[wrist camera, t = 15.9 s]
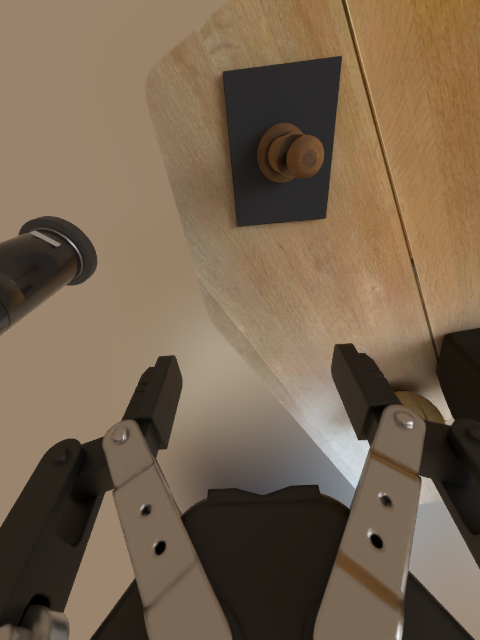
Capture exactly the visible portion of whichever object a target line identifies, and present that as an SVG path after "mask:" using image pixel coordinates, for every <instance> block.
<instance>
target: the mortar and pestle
mask: <svg viewBox="0 0 480 640" xmlns="http://www.w3.org/2000/svg"><path fill="white" fill-rule="evenodd" d="M323 160H324V148H323V145H322V143H321V142H320V141H319V139H317V138H316V137H314V136H311V135H305V134H303V133H302V132H301V130H300V129H299V128H297V127H296V126H295V125H293V124H290V123H279V124H276V125H274V126H272V127H270V128H269V129H268V130H267V131H266V132H265V133H264V134H263V136H262V137H261V139H260V142H259V145H258V149H257V161H258V165H259V168H260V170H261V171H262V173H263V174H264V175H265V176H266V177H267V178H268V179H270V180H272V181H274V182H278V183H283V182H288V181H290V180H292V179H294V178H295V177H297V178H300V179H306V178H309V177H312V176H313V175H315V174H316V173H317V172H318V170H319V169H320V167H321V166H322V163H323Z"/></svg>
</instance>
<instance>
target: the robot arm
mask: <svg viewBox="0 0 480 640" xmlns="http://www.w3.org/2000/svg"><path fill="white" fill-rule="evenodd" d="M83 270H84V257H83V254H82V252H81V250H80V249H79V247H78V246H77V244H76V243H75V242H74V241H73V240H72V239H71V238H70V237H68V236H67V235H66V234H64V233H62V232H61V231H58V230H56V229H53V228H49V227H39V228H36V229H33V230H31V231H29V232H28V233H25V234H22V235H19V236H17V237H14V238H12V239H9V240H7V241H4V242H1V243H0V336H1V335H2V334H3V333H4V332H6V331H7V330H8V329H10V328H11V327H12V326H13V325H15V324H16V323H17V322H19V321H20V320H21V319H22V318H24V317H25V316H26V315H27V314H29V313H30V312H32V311H33V310H34V309H35V308H37V307H38V306H39V305H41V304H42V303H43V302H45V301H46V300H47V299H48V298H50V297H51V296H52V295H53V294H55V293H56V292H58V291H59V290H60V289H61V288H62V287H64V286H65V285H67V284H68V283H69V282H71V281H72V280H74V279H75V278H77V277H78V276H79V275H80V274H81V273H82V272H83ZM331 373H332V378H333V381H334V383H335V385H336V388H337V390H338V393H339V395H340V397H341V400H342V402H343V405H344V407H345V409H346V412H347V414H348V417H349V419H350V421H351V424H352V426H353V429H354V431H355V433H356V436H357V438H358V440H368V442H369V445H370V449H369V452H368V455H367V458H366V461H365V464H364V467H363V470H362V473H361V476H360V479H359V482H358V485H357V488H356V491H355V494H354V497H353V500H352V503H351V505H350V508H348V507H347V506H345V505H344V504H342V503H341V502H339V501H338V500H336V499H334V498H332V497H330V496H327V495H324V494H321V493H320V491H319V487H318V485H300V486H299V485H298V486H289V487H286V488H283V489H281V490H277V491H275V492H272V493H269V494H266V495H259V494H255V493H251V492H247V491H244V490H240V489H236V488H229V489H209V490H208V497H207V498H206V499H203V500H201V501H200V502H197V503H196V504H194V505H193V506H191V507H190V508H189V509H188V510H187V511H186V512H185V513H184V514H182V512H181V510H180V507H179V505H178V504H177V502H176V499H175V498H174V495H173V493H172V491H171V489H170V487H169V485H168V483H167V481H166V479H165V476H164V474H163V472H162V470H161V468H160V466H159V464H158V462H157V459H156V457H157V453H158V450H161V449H167V447H168V442H169V438H170V434H171V430H172V426H173V422H174V418H175V414H176V410H177V406H178V402H179V398H180V394H181V390H182V375H181V372H180V369H179V366H178V362H177V359H176V357H175V356H174V355H171V356H159V357H158V359H157V362H156V364H155V367H149V368H148V369H147V370H146V371H145V372H144V373H143V374H142V376H141V378H140V381H139V382H138V386H137V387H136V389H135V393H134V394H133V396H132V398H131V400H130V403H129V405H128V407H127V409H126V412H125V414H124V416H123V418H122V420H121V422H118V423H116V424H115V425H114V426H112V427H111V428H110V429H109V430H108V431H107V433H106V434H105V436H104V437H101V438H99V439H96V440H93V441H90V442H87V443H84V444H80V442H79V441H78V440H76V439H66V440H63V441H61V442H59V443H57V444H55V445H54V446H53V447H51V448H50V449H49V450H48V451H47V452H46V454H44V456H43V457H42V459H41V461H40V462H39V464H38V466H37V467H36V469H35V471H34V473H33V474H32V476H31V477H30V479H29V481H28V483H27V484H26V486H25V487H24V489H23V491H22V492H21V494H20V496H19V498H18V499H17V501H16V502H15V504H14V506H13V507H12V509H11V511H10V512H9V514H8V516H7V518H6V519H5V521H4V522H3V524H2V526H1V527H0V640H68V638H69V622H68V619H67V617H66V616H65V614H63V612H64V609H65V606H66V604H67V601H68V598H69V595H70V592H71V589H72V586H73V583H74V581H75V578H76V574H77V572H78V569H79V566H80V563H81V561H82V558H83V555H84V552H85V549H86V546H87V543H88V540H89V538H90V535H91V532H92V529H93V526H94V523H95V520H96V517H97V514H98V511H99V509H100V506H101V503H102V500H103V497H104V494H105V492H107V491H109V490H112V489H114V488H115V489H114V490H113V498H114V502H115V506H116V509H117V513H118V516H119V520H120V524H121V527H122V531H123V534H124V538H125V542H126V545H127V549H128V552H129V556H130V559H131V563H132V567H133V570H134V574H135V577H136V578H135V579H134V580H133V582H132V583H131V584H130V586H129V587H128V588H127V590H126V591H125V593H124V594H123V595H122V597H121V598H120V599H119V601H118V602H117V603H116V605H115V606H114V608H113V609H112V610H111V612H110V613H109V614H108V616H107V617H106V618H105V620H104V621H103V623H102V624H101V625H100V627H99V628H98V629H97V631H96V632H95V633H94V635H93V636H92V637H91V639H90V640H475V639H474V638H473V637H472V636H471V635H470V634H469V633H468V632H467V631H466V630H465V629H464V628H463V627H462V626H461V624H460V623H459V622H458V621H457V620H455V618H454V617H453V616H452V615H451V614H450V613H449V612H448V611H447V610H446V609H445V608H444V607H443V606H442V605H441V604H440V603H439V602H438V600H436V598H435V597H434V596H433V595H432V594H431V593H430V592H429V591H428V590H427V589H426V588H425V587H424V586H423V585H422V584H421V583H420V582H419V581H418V579H417V578H416V577H415V576H414V575H413V574H412V573H411V572H410V571H409V570H408V569H409V563H410V555H411V549H412V543H413V536H414V530H415V523H416V517H417V510H418V503H419V497H420V490H421V477H419V475H420V476H423V477H427V478H431V479H432V481H433V483H434V484H435V486H436V488H437V490H438V492H439V494H440V496H441V497H442V499H443V501H444V503H445V505H446V507H447V509H448V511H449V512H450V514H451V516H452V518H453V520H454V522H455V524H456V525H457V527H458V529H459V531H460V533H461V535H462V537H463V539H464V540H465V542H466V544H467V546H468V548H469V550H470V552H471V554H472V555H473V557H474V559H475V561H476V563H477V565H478V567H479V569H480V422H478V421H475V420H472V419H467V418H460V419H457V420H455V421H454V422H453V423H452V425H446V424H441V423H437V422H432V421H428V420H424V419H422V417H421V416H420V415H419V414H418V413H417V412H415V411H414V410H412V409H410V408H408V407H406V406H403V404H402V403H401V401H400V400H399V398H398V397H397V395H396V394H395V392H394V391H393V389H392V387H391V386H390V384H389V383H388V381H387V380H386V378H384V375H383V374H382V372H381V371H380V370H379V368H378V366H377V365H376V363H375V361H374V360H373V359H371V358H370V357H369V356H368V355H366V354H365V353H358V352H357V350H356V348H355V347H354V345H353V344H352V343H349V344H336V345H335V347H334V353H333V359H332V365H331Z"/></svg>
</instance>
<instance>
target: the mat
mask: <svg viewBox="0 0 480 640" xmlns="http://www.w3.org/2000/svg"><path fill="white" fill-rule="evenodd" d="M341 61H342V56H338V57H330V58H323V59H315V60H308V61H300V62H293V63H285V64H277V65H270V66H262V67H255V68H247V69H239V70H232V71H224V72H223V79H224V89H225V100H226V110H227V121H228V132H229V142H230V153H231V164H232V174H233V185H234V195H235V206H236V217H237V226H249V225H260V224H271V223H282V222H292V221H303V220H314V219H325V218H326V211H327V201H328V191H329V181H330V171H331V161H332V151H333V141H334V131H335V121H336V111H337V101H338V91H339V81H340V71H341ZM279 123H290V124H293V125H295V126H296V127H297V128H299V129H300V130H301V132H302V133H303V134H305V135H311V136H314V137H316V138H317V139H319V141H320V142H321V143H322V145H323V148H324V160H323V163H322V166H321V167H320V169H319V170H318V172H317V173H316V174H315V175H313V176H312V177H309V178H306V179H300V178H297V177H295V178H294V179H292V180H290V181H288V182H283V183H278V182H274V181H272V180H270V179H268V178H267V177H266V176H265V175H264V174H263V173H262V171H261V170H260V168H259V165H258V161H257V149H258V145H259V142H260V139H261V137H262V136H263V134H264V133H265V132H266V131H267V130H268V129H269V128H270V127H272V126H274V125H276V124H279Z"/></svg>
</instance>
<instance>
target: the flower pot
mask: <svg viewBox="0 0 480 640" xmlns="http://www.w3.org/2000/svg"><path fill="white" fill-rule="evenodd" d="M437 376H438V380H439V383H440V386H441V389H442V392H443V395H444V397H445V400H446V402H447V405H448V407H449V409H450V412H451V414H452V416H453V418H454V420H457V419H460V418H467V419H472V420H475V421H478V422H480V328H477V329H473V330H467V331H462V332H457V333H451V334H448V335H446V336H445V337H444V338H443V344H442V349H441V353H440V358H439V363H438V368H437Z"/></svg>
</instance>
